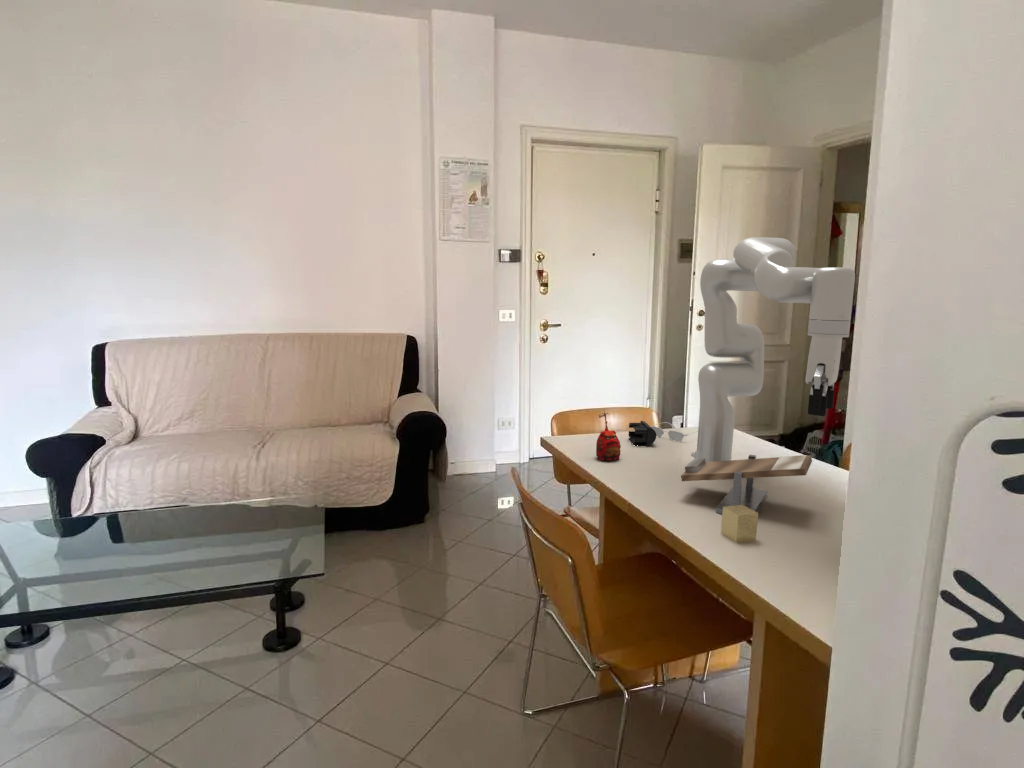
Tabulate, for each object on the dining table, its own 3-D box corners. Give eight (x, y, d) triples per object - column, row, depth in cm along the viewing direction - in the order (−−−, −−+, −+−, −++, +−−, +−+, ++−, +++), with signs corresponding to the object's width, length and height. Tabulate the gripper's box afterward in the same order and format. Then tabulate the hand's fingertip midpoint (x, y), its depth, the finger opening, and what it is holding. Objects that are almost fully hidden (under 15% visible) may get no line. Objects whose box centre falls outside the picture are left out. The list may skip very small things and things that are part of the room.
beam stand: (715, 512, 140) (719, 471, 139) (734, 489, 157) (737, 451, 155) (751, 520, 136) (755, 477, 135) (766, 495, 153) (770, 456, 151)
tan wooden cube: (720, 533, 129) (723, 506, 128) (740, 530, 131) (742, 504, 130) (736, 542, 124) (738, 515, 123) (755, 540, 126) (758, 513, 125)
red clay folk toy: (603, 463, 178) (605, 414, 175) (590, 457, 184) (592, 409, 181) (624, 460, 181) (626, 412, 178) (611, 454, 187) (613, 407, 185)
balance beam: (681, 482, 147) (678, 470, 147) (696, 467, 159) (694, 456, 159) (805, 476, 132) (803, 462, 131) (812, 460, 144) (810, 448, 144)
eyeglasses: (645, 435, 213) (646, 425, 213) (672, 428, 226) (673, 417, 225) (684, 444, 202) (685, 433, 202) (710, 436, 215) (711, 425, 214)
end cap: (655, 447, 197) (657, 427, 196) (634, 447, 197) (635, 427, 196) (648, 439, 207) (649, 420, 206) (627, 439, 206) (628, 420, 205)
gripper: (815, 326, 131) (807, 403, 133) (800, 329, 117) (792, 415, 119) (854, 328, 126) (845, 407, 129) (844, 331, 112) (834, 420, 115)
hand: (820, 411), depth 124 cm, fingers open, 9 cm apart
